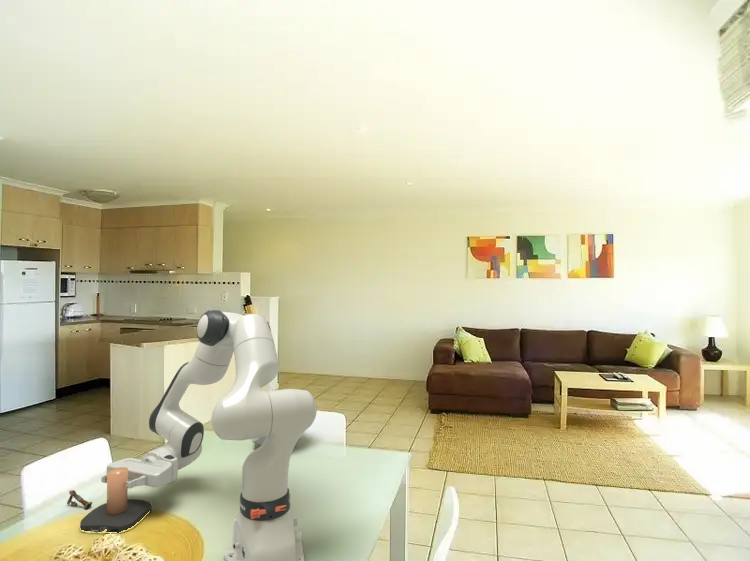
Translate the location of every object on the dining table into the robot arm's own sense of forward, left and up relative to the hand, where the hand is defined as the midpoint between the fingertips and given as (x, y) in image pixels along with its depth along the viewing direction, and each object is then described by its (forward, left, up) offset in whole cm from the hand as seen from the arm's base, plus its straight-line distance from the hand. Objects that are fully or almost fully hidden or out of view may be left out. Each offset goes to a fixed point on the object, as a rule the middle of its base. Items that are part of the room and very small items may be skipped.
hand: (115, 482), depth 123 cm
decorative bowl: (+41, -62, -6) cm, 74 cm away
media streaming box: (+1, -1, -11) cm, 11 cm away
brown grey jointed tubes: (+13, +11, -11) cm, 20 cm away
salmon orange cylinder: (+1, -1, -8) cm, 8 cm away
